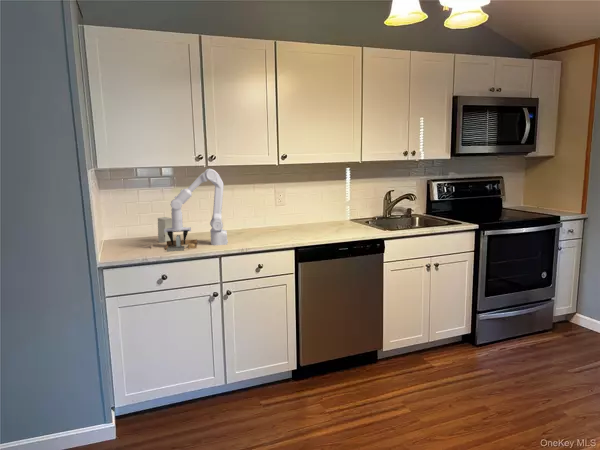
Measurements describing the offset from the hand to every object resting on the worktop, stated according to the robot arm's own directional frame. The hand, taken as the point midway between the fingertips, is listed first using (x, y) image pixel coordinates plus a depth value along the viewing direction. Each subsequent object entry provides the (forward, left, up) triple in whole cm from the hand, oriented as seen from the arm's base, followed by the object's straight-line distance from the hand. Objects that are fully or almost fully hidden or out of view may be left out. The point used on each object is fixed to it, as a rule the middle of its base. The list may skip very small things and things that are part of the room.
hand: (178, 244), depth 254 cm
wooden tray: (-1, 0, -2) cm, 3 cm away
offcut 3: (-7, -3, -3) cm, 8 cm away
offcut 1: (-7, +2, -1) cm, 7 cm away
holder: (+1, +9, -2) cm, 9 cm away
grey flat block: (0, 0, -2) cm, 2 cm away
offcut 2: (-7, +2, -3) cm, 8 cm away
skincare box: (+9, -20, -3) cm, 22 cm away
